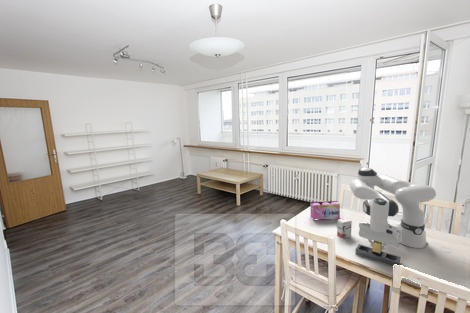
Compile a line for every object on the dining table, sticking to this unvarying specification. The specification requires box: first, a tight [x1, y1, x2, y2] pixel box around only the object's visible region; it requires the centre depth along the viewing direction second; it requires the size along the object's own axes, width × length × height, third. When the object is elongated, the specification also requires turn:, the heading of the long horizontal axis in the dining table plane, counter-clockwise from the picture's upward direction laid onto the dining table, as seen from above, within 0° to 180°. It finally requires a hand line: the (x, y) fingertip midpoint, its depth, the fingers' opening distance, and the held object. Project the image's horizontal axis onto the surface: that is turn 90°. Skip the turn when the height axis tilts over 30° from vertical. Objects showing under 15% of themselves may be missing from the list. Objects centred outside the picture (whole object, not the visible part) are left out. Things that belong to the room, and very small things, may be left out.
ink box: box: [336, 217, 353, 238], centre depth 161 cm, size 9×5×12 cm, turn 106°
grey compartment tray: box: [355, 243, 402, 267], centre depth 134 cm, size 22×7×4 cm, turn 46°
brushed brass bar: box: [372, 240, 383, 253], centre depth 133 cm, size 4×4×6 cm
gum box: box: [309, 200, 341, 220], centre depth 191 cm, size 24×8×14 cm, turn 89°
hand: (377, 247), depth 133 cm, fingers closed on brushed brass bar, 4 cm apart
